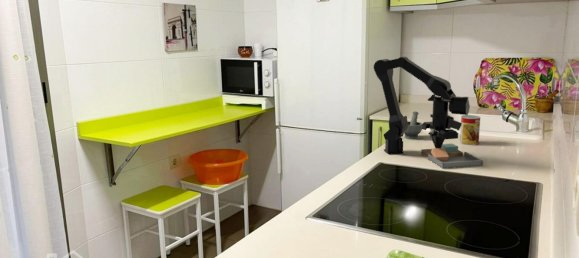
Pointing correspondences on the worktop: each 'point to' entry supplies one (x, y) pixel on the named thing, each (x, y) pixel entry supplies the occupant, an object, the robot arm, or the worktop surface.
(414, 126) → the mortar and pestle
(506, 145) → the worktop surface
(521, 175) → the worktop surface
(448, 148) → the teal tile
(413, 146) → the worktop surface
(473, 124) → the canned food
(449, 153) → the walnut step
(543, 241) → the worktop surface
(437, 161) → the grey tray
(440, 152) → the terracotta tile
